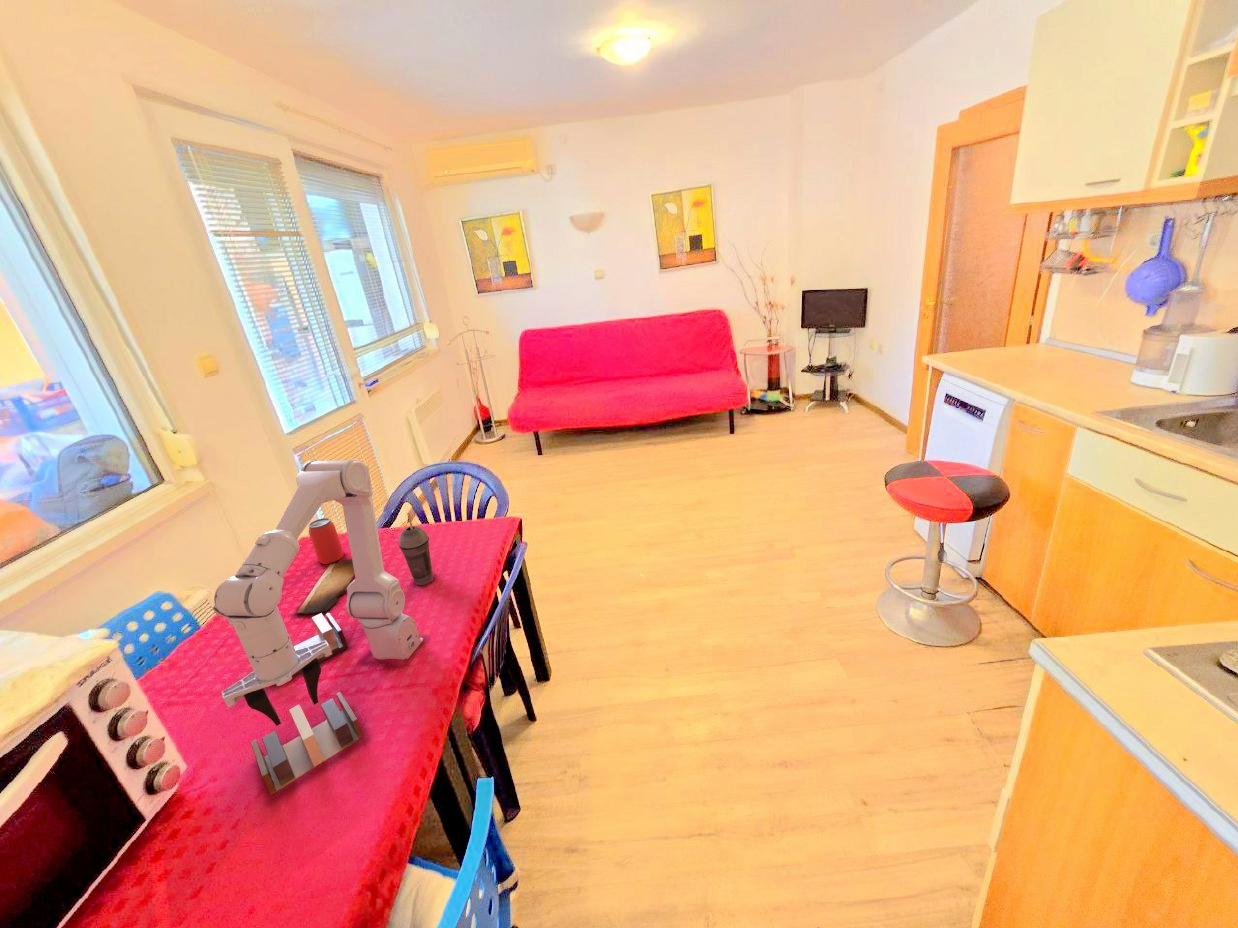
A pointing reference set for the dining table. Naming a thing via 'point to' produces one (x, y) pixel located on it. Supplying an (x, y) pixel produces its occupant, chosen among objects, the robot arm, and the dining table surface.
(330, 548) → the beer can
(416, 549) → the beverage cup
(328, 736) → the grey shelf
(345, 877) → the dining table surface
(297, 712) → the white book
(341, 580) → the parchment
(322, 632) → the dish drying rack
